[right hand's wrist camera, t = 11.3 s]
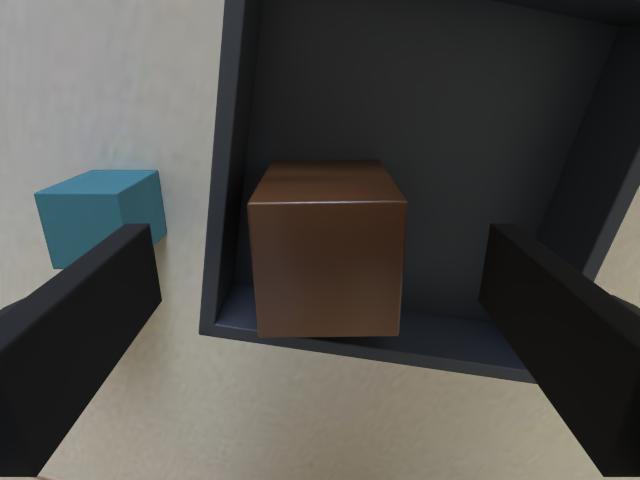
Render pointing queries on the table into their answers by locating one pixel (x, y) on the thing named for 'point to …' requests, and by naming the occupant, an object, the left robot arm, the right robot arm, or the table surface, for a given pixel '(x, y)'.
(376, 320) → the walnut block
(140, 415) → the table surface
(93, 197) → the teal block
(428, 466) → the table surface
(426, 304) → the tray
